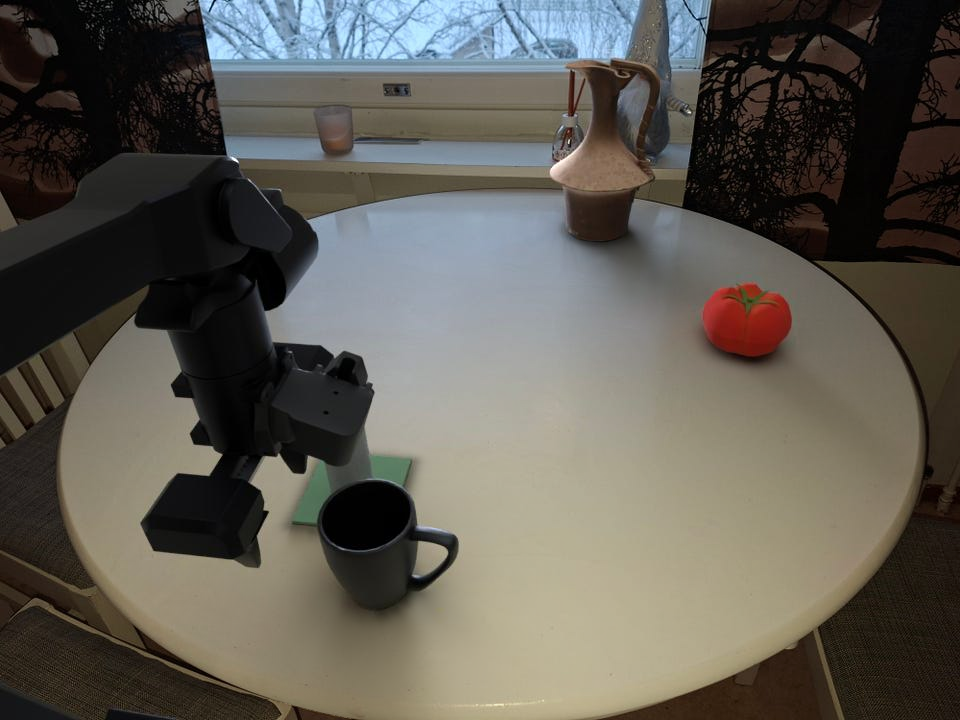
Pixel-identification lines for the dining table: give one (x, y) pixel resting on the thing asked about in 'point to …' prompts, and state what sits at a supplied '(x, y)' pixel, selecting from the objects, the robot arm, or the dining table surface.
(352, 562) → the mug
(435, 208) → the dining table surface
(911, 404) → the dining table surface
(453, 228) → the dining table surface
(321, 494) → the green mat
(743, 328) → the tomato
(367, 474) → the grey tumbler
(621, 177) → the pitcher
